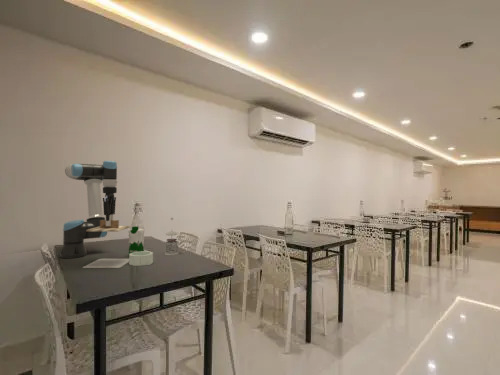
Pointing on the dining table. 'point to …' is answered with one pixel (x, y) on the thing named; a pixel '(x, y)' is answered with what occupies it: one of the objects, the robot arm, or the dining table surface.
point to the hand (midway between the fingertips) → (109, 225)
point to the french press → (172, 244)
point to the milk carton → (136, 239)
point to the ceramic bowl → (141, 258)
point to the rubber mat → (107, 263)
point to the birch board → (109, 227)
